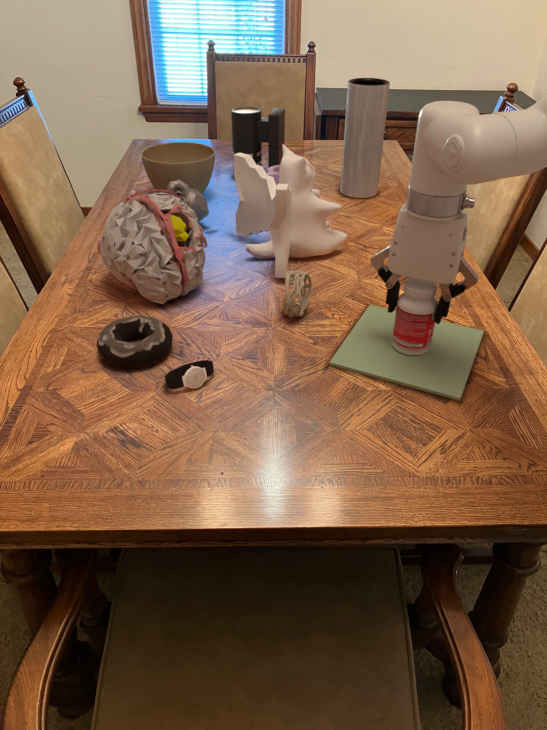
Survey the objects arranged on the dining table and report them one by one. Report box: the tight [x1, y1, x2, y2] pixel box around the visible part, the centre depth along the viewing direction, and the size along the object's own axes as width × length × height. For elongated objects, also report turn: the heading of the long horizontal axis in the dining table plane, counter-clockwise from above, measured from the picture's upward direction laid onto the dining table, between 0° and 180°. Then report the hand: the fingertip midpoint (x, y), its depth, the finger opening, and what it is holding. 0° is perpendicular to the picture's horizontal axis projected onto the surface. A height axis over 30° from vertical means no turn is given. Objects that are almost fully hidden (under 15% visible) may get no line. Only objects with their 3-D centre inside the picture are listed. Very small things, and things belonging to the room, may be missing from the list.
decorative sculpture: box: [97, 188, 208, 305], centre depth 105 cm, size 19×21×20 cm
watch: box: [164, 359, 215, 390], centre depth 84 cm, size 8×5×4 cm, turn 126°
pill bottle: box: [392, 278, 439, 355], centre depth 89 cm, size 6×6×11 cm
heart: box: [167, 180, 210, 223], centre depth 130 cm, size 10×10×12 cm
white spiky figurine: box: [232, 143, 348, 279], centre depth 116 cm, size 25×21×21 cm
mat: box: [328, 304, 485, 402], centre depth 92 cm, size 20×20×1 cm
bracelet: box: [281, 269, 313, 318], centre depth 99 cm, size 4×8×8 cm, turn 166°
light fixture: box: [230, 106, 286, 179], centre depth 158 cm, size 10×14×18 cm
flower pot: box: [140, 141, 216, 196], centre depth 145 cm, size 18×18×12 cm
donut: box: [96, 315, 174, 369], centre depth 90 cm, size 12×12×4 cm
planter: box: [339, 77, 391, 199], centre depth 146 cm, size 10×10×27 cm
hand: (415, 313), depth 89 cm, fingers open, 6 cm apart
